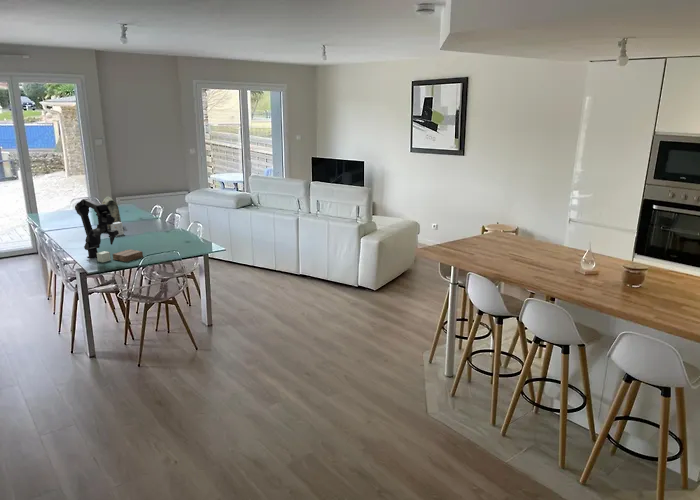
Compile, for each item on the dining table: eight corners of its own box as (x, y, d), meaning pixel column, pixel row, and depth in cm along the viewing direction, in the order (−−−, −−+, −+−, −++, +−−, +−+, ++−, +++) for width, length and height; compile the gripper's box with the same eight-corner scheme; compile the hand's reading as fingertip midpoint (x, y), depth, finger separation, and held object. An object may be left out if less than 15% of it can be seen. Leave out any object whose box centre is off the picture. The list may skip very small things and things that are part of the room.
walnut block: (113, 259, 361) (112, 253, 360) (129, 254, 373) (129, 249, 372) (126, 261, 354) (125, 256, 353) (143, 256, 366) (142, 251, 365)
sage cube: (97, 261, 357) (96, 253, 355) (105, 259, 362) (104, 251, 360) (103, 262, 354) (102, 254, 353) (110, 260, 359) (109, 252, 358)
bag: (100, 225, 472) (96, 196, 465) (119, 223, 480) (115, 195, 473) (103, 230, 454) (99, 200, 446) (123, 228, 462) (119, 198, 455)
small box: (120, 233, 440) (119, 221, 437) (124, 234, 437) (122, 222, 434) (111, 235, 434) (109, 223, 432) (114, 236, 431) (113, 224, 428)
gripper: (82, 224, 344) (85, 246, 348) (107, 225, 341) (110, 248, 345) (93, 220, 354) (96, 242, 359) (117, 222, 351) (120, 243, 356)
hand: (105, 244), depth 354 cm, fingers open, 9 cm apart
